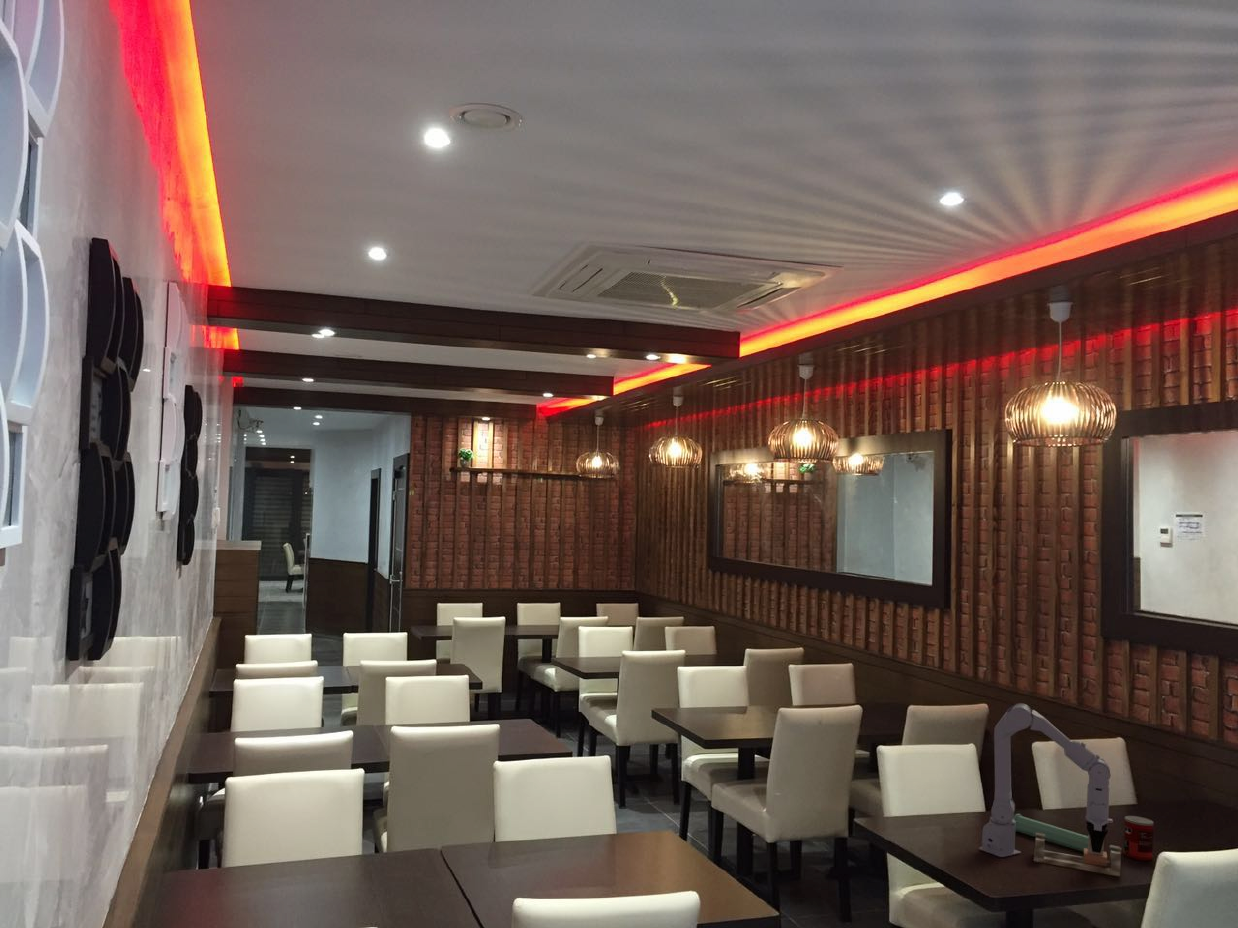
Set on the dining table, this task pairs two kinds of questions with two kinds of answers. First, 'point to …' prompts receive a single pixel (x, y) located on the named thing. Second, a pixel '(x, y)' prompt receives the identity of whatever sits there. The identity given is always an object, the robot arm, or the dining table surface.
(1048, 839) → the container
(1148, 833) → the canned food
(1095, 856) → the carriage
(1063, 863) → the rail
